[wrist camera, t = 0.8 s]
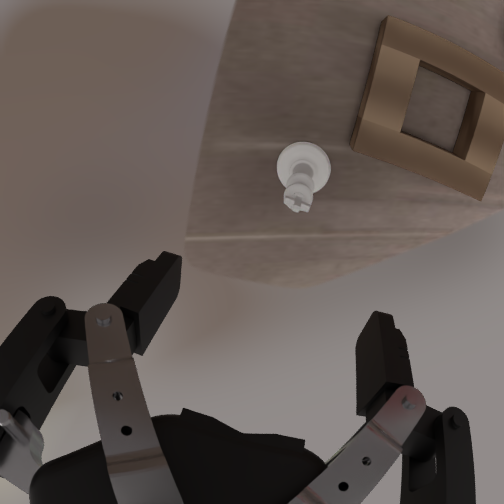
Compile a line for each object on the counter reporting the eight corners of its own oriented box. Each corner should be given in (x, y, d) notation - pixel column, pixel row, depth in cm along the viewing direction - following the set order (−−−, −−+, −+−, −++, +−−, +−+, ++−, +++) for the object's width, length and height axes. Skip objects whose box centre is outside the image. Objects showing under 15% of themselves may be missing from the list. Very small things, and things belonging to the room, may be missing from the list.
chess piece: (286, 133, 27) (270, 158, 18) (338, 153, 27) (348, 188, 18) (270, 182, 29) (247, 228, 21) (319, 200, 29) (317, 254, 21)
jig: (381, 21, 20) (388, 15, 17) (502, 81, 19) (518, 83, 16) (349, 143, 26) (352, 150, 23) (468, 190, 25) (481, 201, 23)
